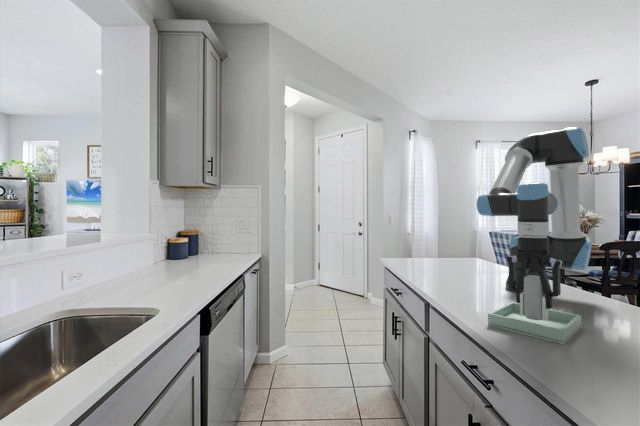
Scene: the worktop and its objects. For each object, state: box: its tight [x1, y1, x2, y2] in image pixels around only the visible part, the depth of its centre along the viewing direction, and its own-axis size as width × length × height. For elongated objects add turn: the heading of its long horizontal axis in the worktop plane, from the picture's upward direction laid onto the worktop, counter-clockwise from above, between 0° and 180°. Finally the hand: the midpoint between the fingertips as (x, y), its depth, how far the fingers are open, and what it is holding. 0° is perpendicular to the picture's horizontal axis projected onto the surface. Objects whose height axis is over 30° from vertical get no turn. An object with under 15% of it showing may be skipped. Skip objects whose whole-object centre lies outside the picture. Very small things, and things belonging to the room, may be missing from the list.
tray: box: [487, 301, 582, 345], centre depth 90 cm, size 18×18×3 cm
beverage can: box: [524, 275, 545, 320], centre depth 90 cm, size 5×5×12 cm
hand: (534, 316), depth 90 cm, fingers closed on beverage can, 5 cm apart
